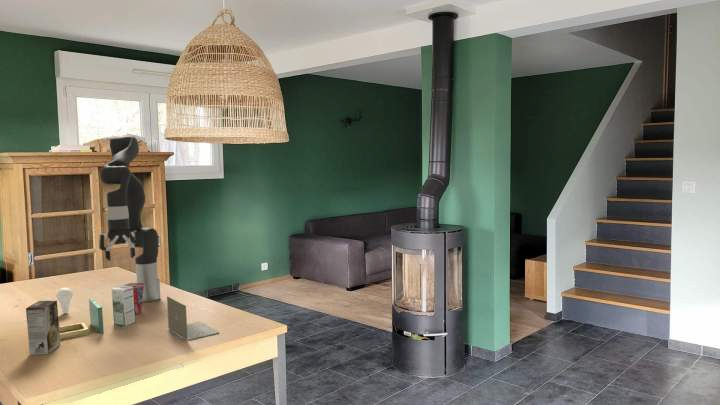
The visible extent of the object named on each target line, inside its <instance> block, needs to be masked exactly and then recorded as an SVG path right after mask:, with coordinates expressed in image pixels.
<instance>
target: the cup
mask: <svg viewBox="0 0 720 405" xmlns="http://www.w3.org/2000/svg"><path fill="white" fill-rule="evenodd" d="M122 286H130V287H133V297H134V313H135V315H140V314H141V313H142V311H143V289H144V283H137V282H130V283H126V284H123V285H122Z"/></svg>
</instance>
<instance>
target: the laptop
mask: <svg viewBox="0 0 720 405" xmlns="http://www.w3.org/2000/svg"><path fill="white" fill-rule="evenodd" d="M166 297H167V298H166V304H167V322H168V323H167V324H168V325H167V326H168V327H167V328H168V330H169V331H171V332H172V333H174V334H175V335H177V336H179V338H182V339H183V340H185V341H186V342H189V341H193V340H197V339H199V338H200V339H202V338H205V337H209V336H214V335H218V334H220V331H219V330H216V329H215V328H213V327H211V326H209V325H208V324H205V323H204V322H202V321H201V320H200V321H196V322H195V321H194V322H190V323H188V322H187V305H185V304H183V303H181V302H180V301H178V300H175V299H173V298H171V297H169V296H166Z"/></svg>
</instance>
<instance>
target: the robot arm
mask: <svg viewBox="0 0 720 405" xmlns="http://www.w3.org/2000/svg"><path fill="white" fill-rule="evenodd" d="M109 149H110V152H111V155H112V158H111V160H110V161H109V162H108V163H106V164H105V165H104V166H103V167H102V168H101V171H100V173H99V176H100V180H101V182H102V183H103V184H105V185H119V188H117V189H115V190H110V191H108V192H107V193H106V202H107V214H106V215H107V230H108V232H107V233H100V234H99V240H98V242H99V243H98V244H99V246H98V249H100V250H101V251H104V255H105V256H104V257H105V259H106V260H107V261H111V251H110V249H111V248H112V247H113V246H114V244H115V245H119V244H125V243H126V244H127V245H128V246H129V247H130V248H129V251H130V252H129V253H130V259H131V258H134V257H135V256H136V248H141V249H142V250H143V251H142V253H141V254H140V255H137V256H136V257H135V259H134V260H135V276H136V279H135V280H136V283H144V289H143V302H147V303H148V302H154V301H157V300H160V299H161V285H160V284H161V282H160V281H161V280H160V278H159V275H158V274H159V271H158V257H159V234H158V231H157V230H156V229H155V228H153V227H143V225H142V218H141V216H142V212H143V210H144V209H143V208H144V206H145V203H146V195H145V191H144V185H143V184H142V182H141V181H140V180H139V178H138V177H136V176H135V175H134V173H132V172H131V170H130V169H129V167H130V164H131V163H132V161H134V160H135V158H136V157H137V156H138V154H139V151H140V146H139V142H138V139H137V138H136V136H134V135H124V136H116V137H112V138H110V140H109ZM107 238H108V239H109V240H108V242H107V244H106V246H105V240H106V239H107Z"/></svg>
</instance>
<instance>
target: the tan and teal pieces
mask: <svg viewBox="0 0 720 405" xmlns="http://www.w3.org/2000/svg"><path fill="white" fill-rule="evenodd" d="M88 304H89V317H90V318H89V319H90V320H89V321H90V325H91V327H93V329H94V330H95V331H96V332H97V333H98V334H99V335H102V334H104V316H103V306H102V305H101V304H99V303H98V302H97V301H96V300H95V299H94V298H90V299H88ZM89 330H90V329H89V327H88V326H87V325H86V323H84V322H77V323H72V324H66V325H61V326H60V325H59V333H60V341H61V340H65V339H71V338H77V337H81V336H87V335H90V331H89Z"/></svg>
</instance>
